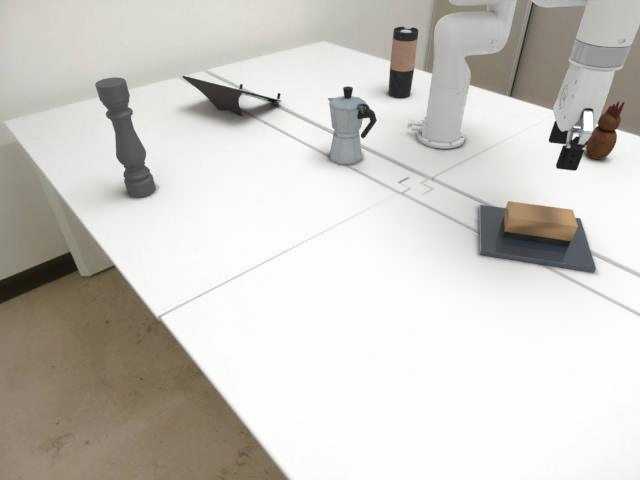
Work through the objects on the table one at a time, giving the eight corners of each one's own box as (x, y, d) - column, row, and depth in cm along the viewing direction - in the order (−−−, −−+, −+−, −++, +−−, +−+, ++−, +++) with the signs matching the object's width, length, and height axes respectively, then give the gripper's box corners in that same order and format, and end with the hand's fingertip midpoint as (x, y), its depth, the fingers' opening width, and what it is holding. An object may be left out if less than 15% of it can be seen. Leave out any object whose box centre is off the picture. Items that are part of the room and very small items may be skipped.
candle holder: (161, 186, 106) (133, 79, 91) (145, 200, 102) (113, 89, 86) (138, 181, 108) (108, 75, 92) (122, 195, 103) (86, 86, 88)
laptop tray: (283, 125, 146) (289, 95, 144) (237, 116, 126) (244, 82, 124) (228, 109, 156) (233, 82, 153) (178, 100, 136) (183, 68, 133)
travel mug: (396, 100, 147) (403, 34, 134) (383, 92, 152) (388, 28, 140) (415, 96, 149) (424, 30, 137) (401, 88, 155) (408, 25, 142)
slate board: (479, 254, 87) (480, 250, 86) (479, 208, 99) (480, 204, 98) (594, 272, 83) (596, 268, 82) (578, 222, 95) (580, 218, 94)
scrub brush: (502, 237, 89) (509, 216, 86) (501, 221, 93) (507, 200, 90) (568, 247, 87) (578, 226, 84) (564, 230, 91) (573, 209, 88)
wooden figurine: (611, 163, 114) (636, 105, 105) (586, 161, 115) (609, 103, 106) (603, 150, 119) (627, 94, 110) (579, 148, 120) (601, 92, 111)
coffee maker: (316, 154, 118) (315, 86, 107) (338, 143, 123) (339, 76, 112) (361, 174, 110) (365, 102, 99) (382, 161, 115) (389, 91, 104)
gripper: (563, 36, 76) (533, 131, 87) (581, 69, 63) (544, 177, 74) (612, 39, 74) (576, 136, 85) (642, 74, 61) (594, 183, 72)
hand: (561, 155), depth 79 cm, fingers open, 9 cm apart
